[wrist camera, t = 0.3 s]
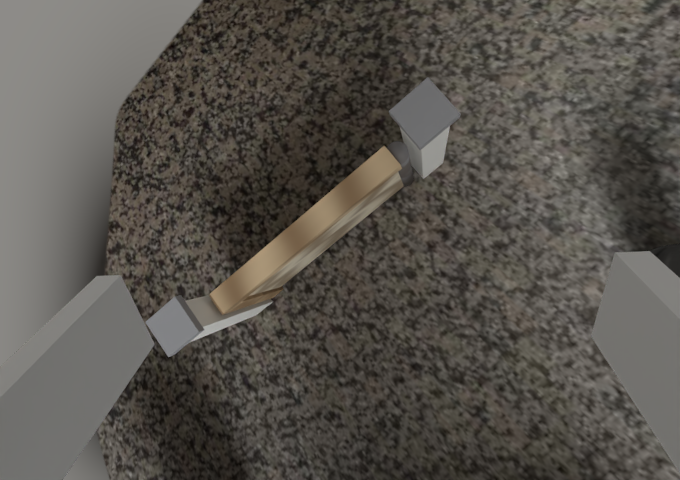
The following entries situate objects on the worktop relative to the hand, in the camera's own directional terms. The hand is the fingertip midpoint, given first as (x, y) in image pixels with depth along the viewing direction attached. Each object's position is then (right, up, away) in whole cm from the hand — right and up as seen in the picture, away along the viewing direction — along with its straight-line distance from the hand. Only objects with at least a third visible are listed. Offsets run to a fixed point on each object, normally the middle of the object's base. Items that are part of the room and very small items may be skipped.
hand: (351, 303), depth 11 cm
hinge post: (+9, +11, +33) cm, 36 cm away
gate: (-1, +3, +35) cm, 35 cm away
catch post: (-11, -6, +38) cm, 40 cm away
